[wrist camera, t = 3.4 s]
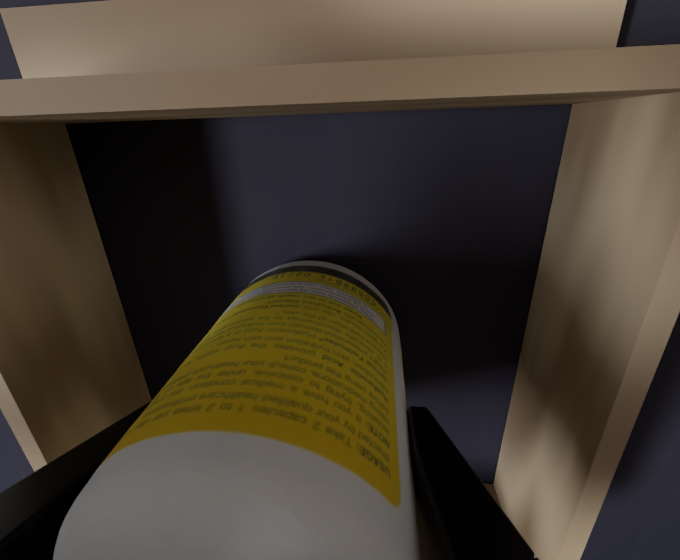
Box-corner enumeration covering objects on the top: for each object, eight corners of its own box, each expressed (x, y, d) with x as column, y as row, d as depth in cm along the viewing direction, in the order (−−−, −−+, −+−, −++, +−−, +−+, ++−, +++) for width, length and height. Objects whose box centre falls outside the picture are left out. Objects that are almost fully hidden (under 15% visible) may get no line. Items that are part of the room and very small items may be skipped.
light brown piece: (548, 530, 14) (608, 670, 10) (131, 498, 16) (58, 608, 12) (734, -41, 7) (1125, -225, 3) (-62, 17, 9) (-372, -60, 5)
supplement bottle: (206, 281, 11) (-501, 924, 2) (372, 234, 10) (336, 1177, 1) (271, 410, 13) (40, 1032, 4) (416, 382, 12) (538, 1161, 3)
